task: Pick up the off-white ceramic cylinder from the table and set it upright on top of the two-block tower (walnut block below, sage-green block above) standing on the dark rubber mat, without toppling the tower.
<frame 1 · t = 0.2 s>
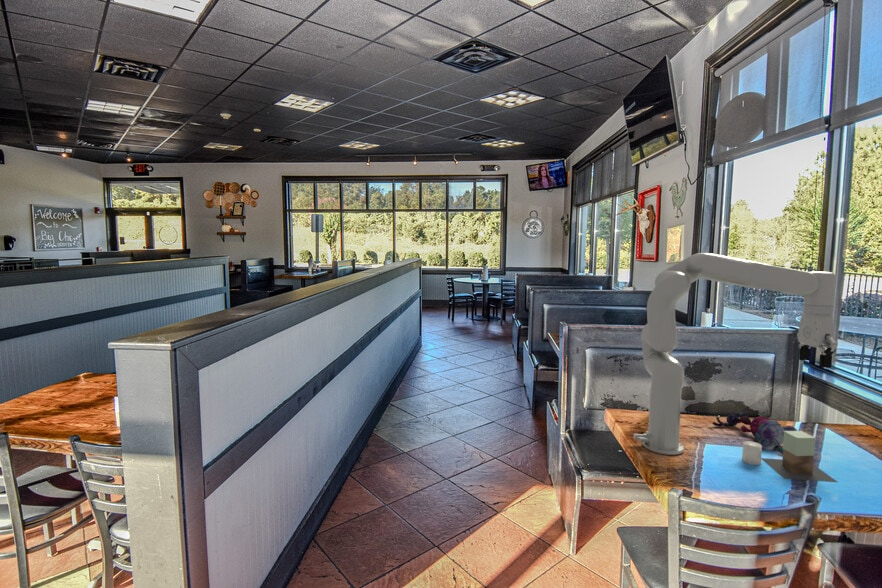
hand: (814, 363, 153), 31 cm above the table, fingers open, 9 cm apart
toy: (759, 442, 168), on the table
block bottom: (797, 469, 145), resting on mat, touching block top
ceramic cylinder: (751, 462, 151), on the table
mat: (797, 470, 145), on the table
block top: (798, 451, 145), point 6 cm above the table, touching block bottom
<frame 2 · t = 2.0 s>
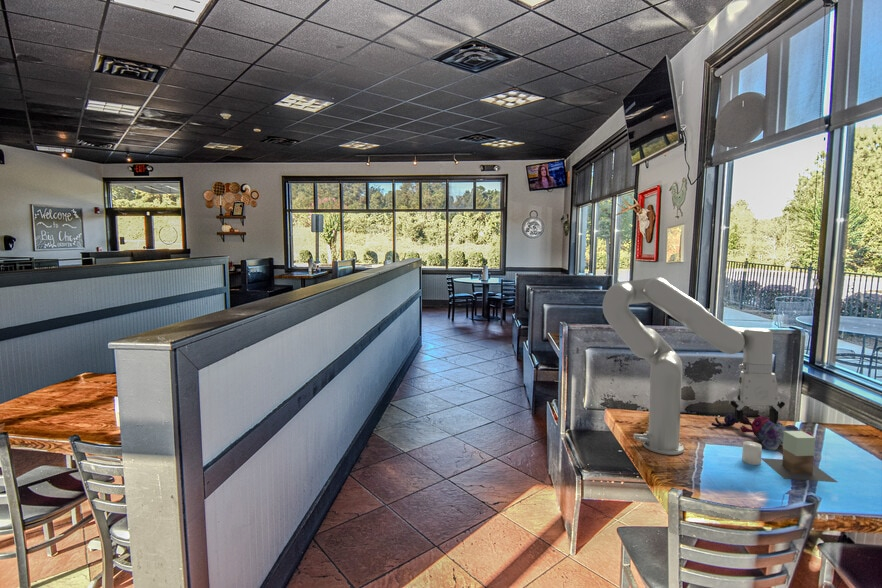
hand: (756, 421, 150), 13 cm above the table, fingers open, 9 cm apart
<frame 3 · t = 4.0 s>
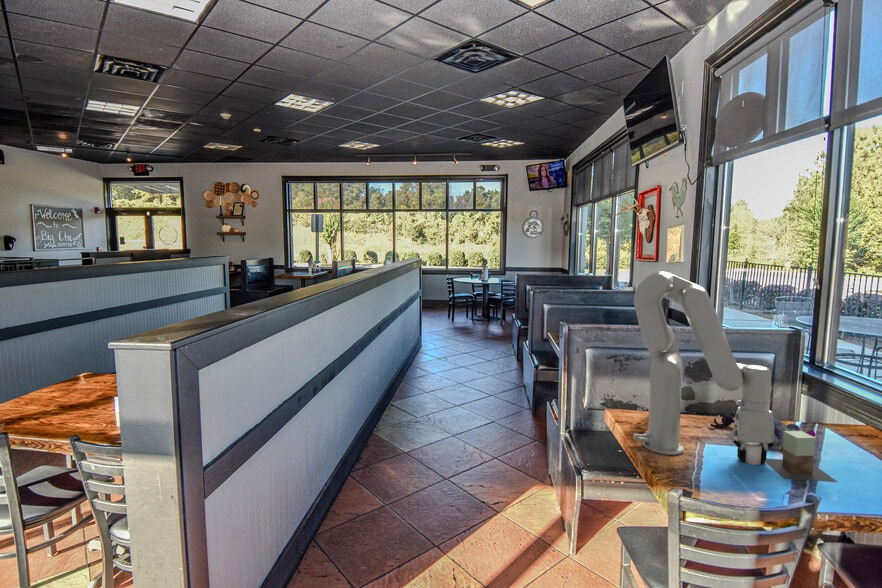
hand: (751, 460, 151), 1 cm above the table, fingers closed on ceramic cylinder, 5 cm apart
ceramic cylinder: (751, 462, 151), on the table, touching gripper
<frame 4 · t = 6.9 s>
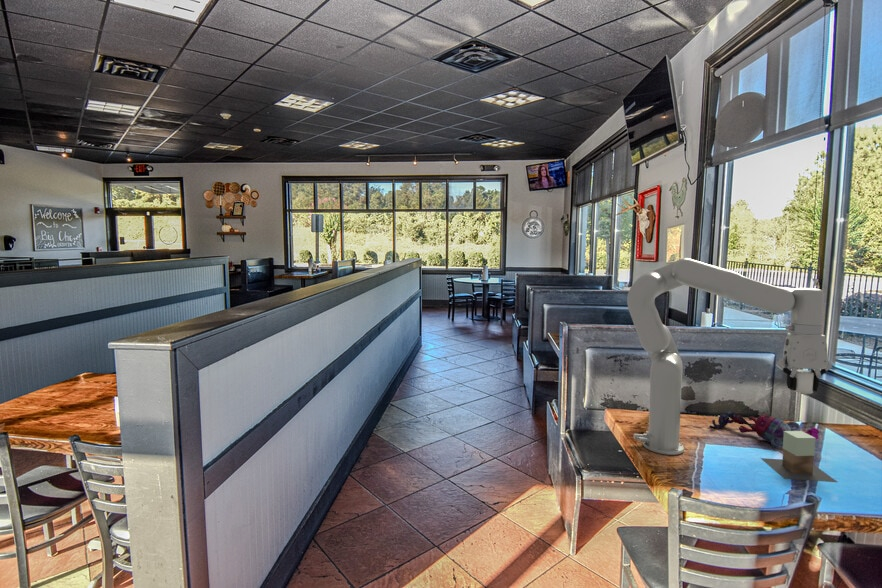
hand: (802, 389, 143), 25 cm above the table, fingers closed on ceramic cylinder, 5 cm apart
ceramic cylinder: (802, 391, 143), point 25 cm above the table, touching gripper
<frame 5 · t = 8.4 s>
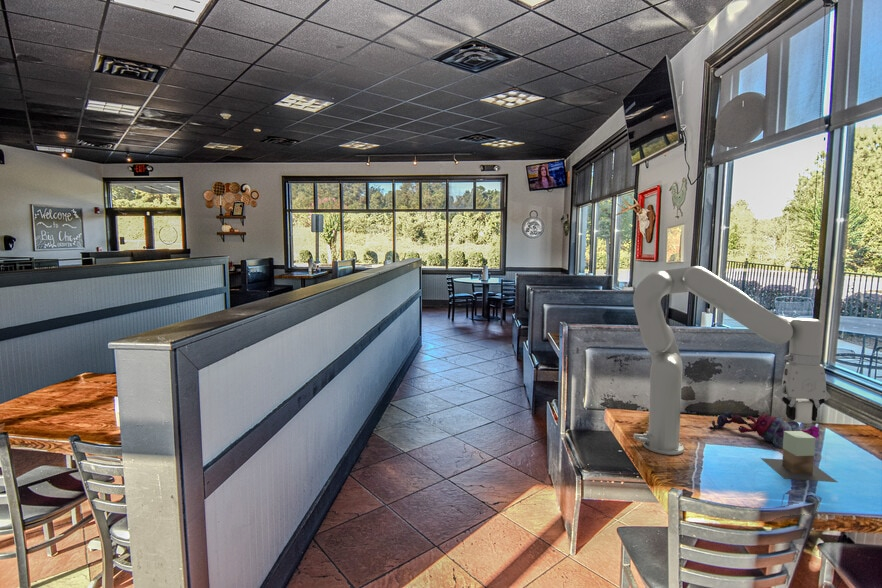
hand: (801, 418, 144), 16 cm above the table, fingers closed on ceramic cylinder, 5 cm apart
ceramic cylinder: (801, 420, 144), point 16 cm above the table, touching gripper
when the fingers open (14 cm above the table, at t = 9.8 s): ceramic cylinder drops 2 cm, resting on block top.
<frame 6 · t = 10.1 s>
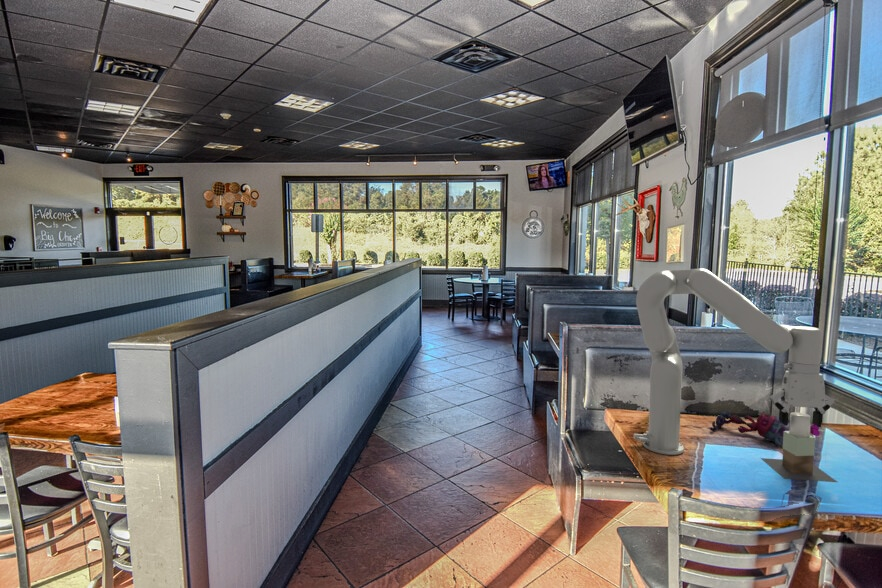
hand: (800, 424, 144), 14 cm above the table, fingers open, 8 cm apart
ceramic cylinder: (799, 434, 144), point 11 cm above the table, touching block top
block top: (798, 451, 145), point 6 cm above the table, touching block bottom, ceramic cylinder
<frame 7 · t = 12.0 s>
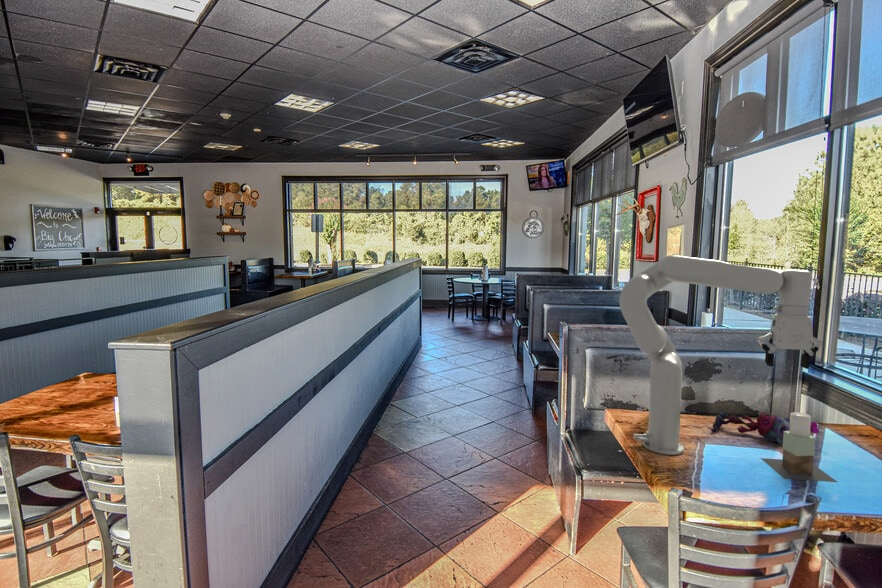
hand: (786, 366, 145), 32 cm above the table, fingers open, 9 cm apart
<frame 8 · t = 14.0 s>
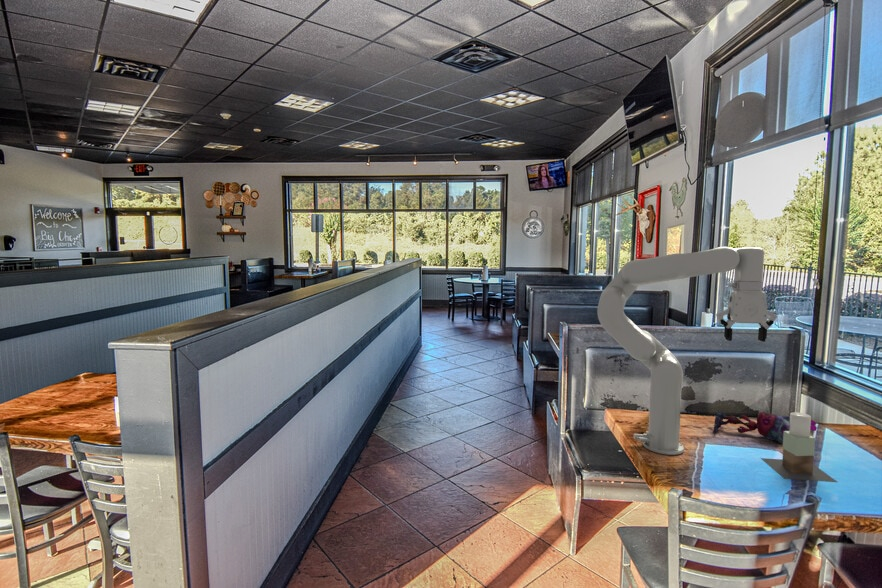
hand: (744, 340, 152), 38 cm above the table, fingers open, 9 cm apart
at the end: ceramic cylinder 0.0 cm off-centre on the block top, point 5.5 cm above the block top's base; ceramic cylinder tilted 0°; block top tilted 0° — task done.
